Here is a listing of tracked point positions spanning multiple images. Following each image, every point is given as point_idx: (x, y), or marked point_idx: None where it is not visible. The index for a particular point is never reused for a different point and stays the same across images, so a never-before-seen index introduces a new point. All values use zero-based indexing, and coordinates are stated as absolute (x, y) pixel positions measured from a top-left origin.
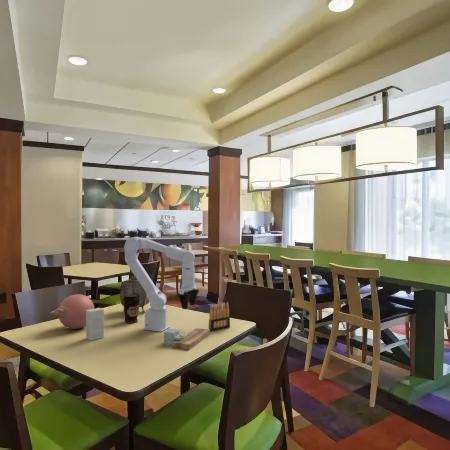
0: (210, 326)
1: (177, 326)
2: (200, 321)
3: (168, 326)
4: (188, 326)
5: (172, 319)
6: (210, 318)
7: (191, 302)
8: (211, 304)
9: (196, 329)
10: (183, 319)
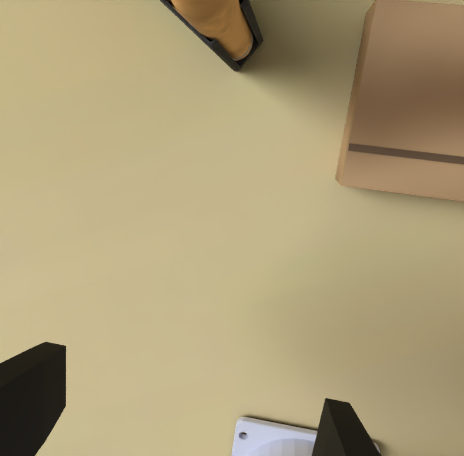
0: (254, 32)
1: (201, 369)
2: (7, 229)
3: (254, 430)
4: (175, 287)
5: (44, 446)
6: (237, 8)
7: (38, 421)
8: None
9: (395, 155)
10: None
